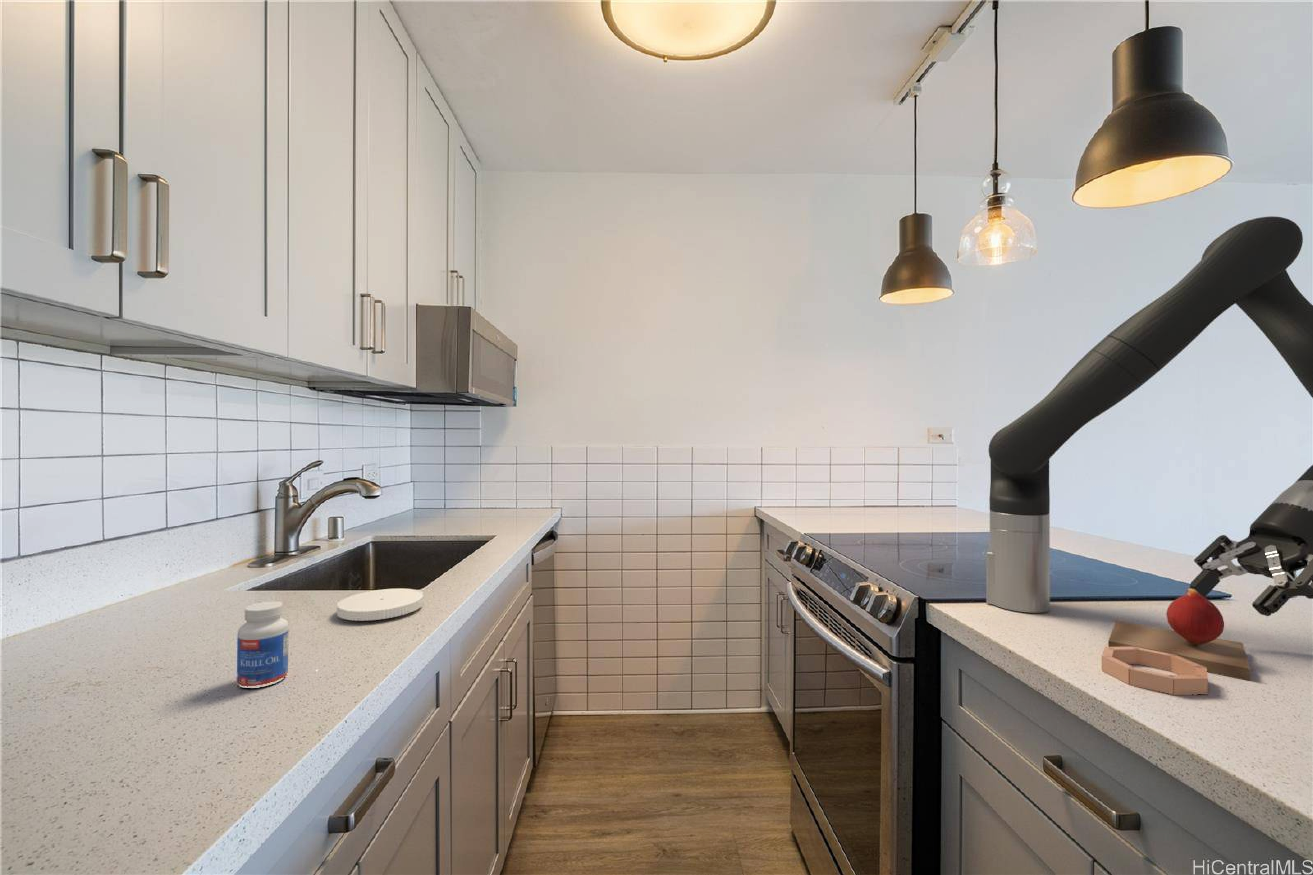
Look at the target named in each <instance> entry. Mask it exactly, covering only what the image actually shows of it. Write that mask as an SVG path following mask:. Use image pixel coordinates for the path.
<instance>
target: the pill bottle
mask: <svg viewBox="0 0 1313 875" xmlns="http://www.w3.org/2000/svg"><path fill="white" fill-rule="evenodd" d="M283 608H284V604H283V602H281V601H264V602H258V603H254V604H250V605H248V606H246V607H245V608H244V620H245V621H246V623H243V624H242V625H240V627H239V628H238V630H237V641H236V644H237V645H236V646H237V647H236V650H237V651H236V685H237V684H239V685H241V686H247V687H248V686H257V685H263V684H267V683H270V682H275V681H277V680H279V679H281V678H284V677H285V676H286V675H287V673H288V674H289V638H290V636H289V635H290V634H289V631H290V630H289V625H290V624H289V622H288V620H286V619H285V618H283V617H281V616H282V615H283V613H284V609H283ZM287 676H288V675H287Z"/></svg>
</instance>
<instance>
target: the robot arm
mask: <svg viewBox="0 0 1313 875" xmlns="http://www.w3.org/2000/svg"><path fill="white" fill-rule="evenodd" d="M1303 237H1304V236H1303V232H1302V230H1301V228H1300V227H1299V225H1298V224H1297V223H1296V222H1294V221H1293V220H1292V219H1288V218H1285V217H1283V216H1282V217H1281V216H1263V217H1262V216H1261V217H1256V218H1253V219H1249V220H1245V221H1243V222H1240V223H1238V224H1236V225H1234V226H1233V227H1230V228H1229V229H1227V230H1226V231H1225V232H1223V233H1222V234H1220V235H1219V236H1218V237H1216V238H1215V239H1214V240H1212V241H1211V243H1210V244H1209V245H1207V247H1206V248H1205V250H1204V252H1203V254H1202V257H1201V259H1200V261H1199V262H1198V263H1197V264H1196V265H1194V267H1193V268H1192V269H1191V270H1190V271H1189V272H1188V273H1187V274H1186V275H1185V276H1184V277H1182V279H1181V280H1180V281H1178V282H1177V283H1176V284H1175V285H1173V286H1172V287H1171V288H1170V289H1168V291H1166V292H1165V293H1163V294H1162V295H1160V296H1159V297H1158V298H1156V299H1155V300H1153V301H1152V302H1150V303H1149V304H1147V305H1146V306H1144V307H1143V308H1142V309H1140V310H1139V311H1137V312H1136V313H1134V314H1133V315H1132V316H1130V317H1129V318H1128V319H1126V320H1125V321H1123V322H1122V323H1121V324H1119V326H1117V327H1116V328H1115V329H1113V330H1112V331H1111V332H1109V334H1107V335H1106V336H1105V337H1103V339H1101V341H1099V342H1098V343H1097V344H1096V345H1095V346H1094V347H1093V348H1091V349H1090V350H1089V351H1088V352H1087V353H1086V354H1084V356H1083V357H1082V358H1081V359H1080V360H1079V361H1078V362H1077V363H1075V365H1074V366H1073V367H1072V368H1071V369H1070V370H1069V371H1068V372H1067V373H1066V374H1065V375H1064V377H1063V378H1061V380H1060V381H1059V382H1058V383H1057V384H1056V386H1055V387H1054V388H1053V389H1052V390H1051V391H1050V392H1049V393H1048V394H1047V395H1046V396H1044V397H1043V399H1042V400H1040V401H1039V402H1038V403H1037V404H1035V405H1034V406H1032V407H1031V408H1030V409H1029V410H1027V411H1026V412H1024V414H1022V415H1021V416H1019V417H1018V418H1017V419H1015V420H1013V421H1012V422H1011V423H1009V424H1008V425H1006V426H1004V427H1002V428H1001V429H999V430H998V431H997V432H995V434H994V435H993V436H992V438H991V439H990V441H989V445H988V457H989V459H990V483H989V485H990V488H989V550H988V551H987V552H986V557H985V558H986V559H985V560H986V562H985V563H986V566H985V568H986V572H985V574H986V575H985V576H986V579H985V580H986V585H985V586H986V587H985V588H986V592H985V593H986V595H985V597H986V598H985V599H986V604H988V605H994V606H996V607H999V608H1002V609H1005V610H1010V611H1015V612H1019V613H1020V612H1021V613H1033V614H1034V613H1035V614H1038V613H1039V614H1040V613H1047V612H1048V611H1050V606H1051V605H1050V601H1051V596H1050V594H1051V592H1050V591H1051V590H1050V584H1051V583H1050V582H1051V580H1050V572H1051V571H1050V569H1051V568H1050V562H1051V561H1050V555H1051V553H1050V547H1051V546H1050V542H1051V540H1050V536H1051V535H1050V533H1051V531H1050V529H1051V527H1050V524H1051V523H1050V515H1051V514H1050V512H1051V510H1050V503H1051V502H1050V500H1051V498H1050V493H1051V492H1050V491H1051V490H1050V459H1051V458H1052V457H1053V456H1054V455H1055V454H1056V452H1058V450H1060V448H1062V447H1063V445H1064V444H1065V443H1066V442H1067V441H1068V440H1069V439H1071V437H1073V436H1074V435H1075V434H1076V433H1077V432H1078V431H1079V430H1080V429H1082V428H1083V427H1084V426H1085V425H1086V424H1087V425H1088V423H1089V422H1091V421H1093V420H1094V419H1096V418H1097V417H1099V416H1101V415H1102V414H1104V413H1105V412H1107V411H1108V410H1110V409H1111V408H1113V407H1114V406H1116V405H1117V404H1118V403H1120V402H1121V401H1123V400H1124V399H1126V398H1127V397H1128V396H1130V395H1131V394H1132V393H1134V392H1135V391H1137V390H1138V389H1139V388H1141V387H1142V386H1143V385H1144V384H1146V382H1148V381H1149V380H1150V379H1152V378H1153V377H1154V376H1155V375H1157V373H1159V372H1160V371H1161V370H1163V369H1164V367H1166V366H1167V365H1168V364H1169V363H1170V362H1172V361H1173V360H1174V359H1175V358H1176V357H1177V356H1178V355H1179V354H1180V353H1182V352H1183V351H1184V350H1185V348H1187V347H1188V346H1189V345H1190V344H1191V343H1192V342H1193V341H1194V340H1195V339H1196V338H1198V336H1199V335H1200V334H1202V332H1203V331H1204V330H1205V329H1207V328H1208V326H1209V325H1210V324H1211V323H1212V324H1213V322H1215V320H1216V319H1217V318H1218V317H1219V316H1221V315H1222V314H1223V313H1224V312H1226V311H1227V310H1228V309H1229V308H1231V307H1232V306H1233V305H1236V306H1237V307H1238V308H1239V309H1240V310H1242V312H1243V313H1244V314H1245V315H1246V316H1247V317H1248V318H1249V319H1250V320H1251V321H1252V322H1253V324H1255V325H1256V327H1258V329H1260V331H1261V332H1262V333H1263V334H1264V335H1265V337H1266V338H1267V339H1268V340H1269V342H1270V343H1271V344H1272V345H1273V347H1274V348H1275V349H1276V351H1278V353H1279V355H1280V357H1282V359H1283V360H1284V361H1285V362H1286V364H1287V366H1288V367H1289V368H1290V369H1291V371H1292V373H1293V374H1294V375H1295V376H1296V378H1297V379H1298V381H1299V382H1300V383H1301V385H1302V386H1303V387H1304V389H1305V390H1306V392H1308V394H1309V396H1310V397H1311V398H1312V399H1313V303H1311V302H1310V301H1309V300H1308V299H1307V298H1306V297H1305V296H1304V295H1303V294H1302V292H1301V291H1300V290H1299V288H1297V287H1296V285H1295V284H1294V282H1293V281H1292V279H1291V277H1290V275H1289V273H1288V271H1287V269H1288V268H1289V267H1290V266H1291V265H1292V264H1293V263H1294V262H1295V261H1296V259H1297V258H1298V256H1299V255H1300V253H1301V251H1302V250H1301V249H1302V246H1303V243H1304V242H1303V240H1304V238H1303ZM1210 558H1211V560H1210V561H1208V560H1209V559H1210ZM1235 559H1236V561H1237V563H1238V565H1236V564H1235V563H1234V562H1233V560H1235ZM1193 562H1194V563H1195V564H1196V565H1197V566H1198V567H1199V568H1200V569H1201V572H1199V573H1198V574H1197V575H1196V576H1195V578H1194V579H1193V580H1192V581H1191V582H1190V585H1189V589H1194V590H1196V591H1197V592H1198V593H1199V594H1201V595H1202V596H1203V597H1204V598H1206V597H1207V595H1209V594H1210V592H1211V591H1212V590H1213V589H1214V588H1215V587H1217V585H1219V583H1220V582H1221V580H1222V579H1225V578H1228V577H1231V576H1238V577H1239V576H1243V575H1246V574H1248V573H1249V574H1252V575H1261V576H1264V577H1266V578H1270V579H1272V580H1273V584H1274V585H1271V584H1269V585H1267V587H1266V588H1265V589H1264V590H1263V591H1262V592H1261V594H1259V596H1258V597H1256V598H1255V600H1253V601H1252V603H1251V604H1252V608H1254V609H1255V610H1256V611H1257V613H1258V614H1260V615H1262V616H1265V617H1269V616H1271V615H1273V614H1276V613H1277V612H1279V610H1280V609H1281V608H1283V606H1284V605H1286V604H1287V602H1289V600H1290V599H1295V598H1298V597H1305V598H1307V599H1309V600H1311V599H1313V464H1312V465H1311V466H1310V467H1308V468H1307V469H1306V471H1304V473H1303V474H1301V476H1300V477H1299V478H1298V479H1297V480H1295V482H1294V483H1293V484H1292V485H1290V486H1289V487H1288V488H1286V489H1285V490H1284V491H1282V492H1281V493H1280V494H1279V495H1278V496H1277V497H1276V498H1275V499H1274V500H1273V501H1272V502H1271V503H1270V504H1269V505H1268V507H1266V508H1265V510H1263V512H1262V513H1261V514H1259V516H1258V517H1257V518H1256V519H1255V520H1254V521H1252V523H1251V524H1250V526H1249V534H1248V536H1247V537H1245V538H1244V539H1242V540H1240V541H1236V540H1232V539H1230V538H1229V537H1228V536H1227V535H1226V534H1222V535H1219V536H1218V537H1217V538H1215V540H1214V541H1212V542H1211V543H1210V544H1209V545H1208V546H1207V547H1206V548H1205V549H1204V550H1203V551H1201V553H1199V554H1198V555H1197V556H1196V557H1195V558H1194V560H1193ZM1224 566H1225V568H1223V569H1218V568H1221V567H1224ZM1299 570H1302V571H1301V572H1300V573H1299V574H1298V575H1297V571H1299Z"/></svg>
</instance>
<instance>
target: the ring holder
mask: <svg viewBox="0 0 1313 875" xmlns="http://www.w3.org/2000/svg"><path fill="white" fill-rule="evenodd" d="M1132 665H1142V666H1145V667H1150V668H1154V669H1155V668H1156V669H1160V670H1164V671H1169V672H1171V673H1173V674H1167V673H1162V672H1156V671H1152V670H1147V669H1144V668H1139V667H1134V666H1132ZM1101 671H1102V672H1104V673H1106V674H1107V675H1109V676H1112V677H1113V678H1115V679H1117V680H1119V681H1121V682H1122V683H1124V684H1127V685H1129V686H1133V687H1138V688H1142V689H1145V690H1150V691H1154V692H1158V691H1160V692H1159V693H1162V692H1165V693H1164V694H1166V693H1169V694H1168V695H1171V694H1174V695H1173V696H1198V695H1197V694H1208V695H1209V691H1208V690H1209V686H1208V685H1209V683H1208V682H1209V681H1208V680H1209V678H1208V672H1207V668H1206V667H1204V666H1201V665H1199V664H1196V663H1194V662H1192V661H1189V660H1187V659H1184V658H1182V657H1179V656H1177V655H1174V654H1169V653H1164V652H1159V651H1154V650H1149V649H1144V648H1139V647H1108V646H1104V648H1103V651H1102V654H1101ZM1178 674H1179V675H1178ZM1192 694H1193V695H1192Z"/></svg>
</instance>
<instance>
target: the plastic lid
mask: <svg viewBox="0 0 1313 875" xmlns="http://www.w3.org/2000/svg"><path fill="white" fill-rule="evenodd" d="M424 594H425V593H424V592H422V591H421V590H419V589H418V590H417V589H414V588H413V589H412V588H400V587H399V588H386V589H385V588H384V589H376V590H371V591H364V592H360V593H356V594H353V595H351V596H350V595H349V596H347V597H345V598H343V599H340V600H339V601H338V602H337V604H336V616H337V617H338V618H340V619H343V620H346V621H347V620H348V621H355V622H356V621H362V622H363V621H376V620H385V619H389V618H390V619H391V618H396V617H400V616H404V615H407V614H410V613H412V612H415V611H417V610H419V609H420V608H422V606H424V605H425V604H424V603H425V597H424V596H425V595H424Z"/></svg>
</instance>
